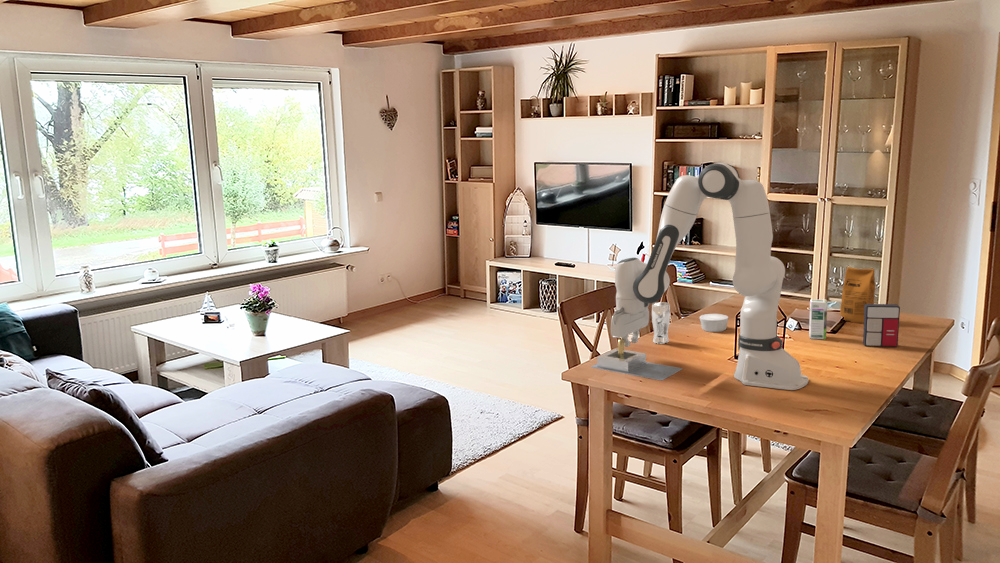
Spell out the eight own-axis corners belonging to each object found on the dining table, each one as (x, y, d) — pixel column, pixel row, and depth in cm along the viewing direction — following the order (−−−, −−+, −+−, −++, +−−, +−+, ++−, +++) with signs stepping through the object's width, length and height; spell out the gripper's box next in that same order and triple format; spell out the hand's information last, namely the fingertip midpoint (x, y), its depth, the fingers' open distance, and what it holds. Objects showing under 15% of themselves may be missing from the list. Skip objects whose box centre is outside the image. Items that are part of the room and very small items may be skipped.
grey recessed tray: (645, 363, 260) (645, 353, 259) (628, 372, 251) (628, 362, 250) (615, 358, 268) (615, 348, 267) (597, 366, 258) (597, 356, 258)
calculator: (865, 346, 274) (867, 306, 271) (862, 343, 278) (864, 303, 275) (898, 347, 271) (900, 306, 268) (895, 344, 275) (897, 304, 273)
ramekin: (698, 332, 303) (699, 319, 302) (700, 325, 313) (700, 313, 312) (728, 333, 300) (728, 320, 299) (728, 326, 310) (728, 313, 309)
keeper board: (683, 372, 253) (683, 368, 253) (661, 385, 242) (661, 380, 242) (613, 360, 270) (613, 356, 270) (590, 371, 259) (590, 366, 259)
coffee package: (846, 315, 319) (848, 264, 315) (877, 320, 310) (879, 267, 306) (835, 320, 312) (838, 267, 308) (867, 325, 303) (869, 270, 299)
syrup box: (809, 339, 287) (811, 301, 284) (808, 335, 292) (810, 298, 289) (826, 339, 285) (827, 302, 282) (824, 335, 290) (826, 298, 288)
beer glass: (670, 344, 287) (670, 306, 284) (651, 344, 288) (651, 305, 286) (669, 339, 294) (670, 302, 291) (651, 339, 295) (651, 301, 292)
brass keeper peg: (629, 364, 259) (629, 339, 257) (623, 367, 256) (623, 342, 254) (619, 363, 262) (618, 337, 260) (613, 366, 259) (612, 340, 257)
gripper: (621, 312, 249) (623, 353, 251) (651, 300, 264) (653, 338, 267) (605, 310, 253) (607, 350, 255) (635, 299, 268) (637, 336, 271)
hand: (630, 344), depth 261 cm, fingers open, 4 cm apart
